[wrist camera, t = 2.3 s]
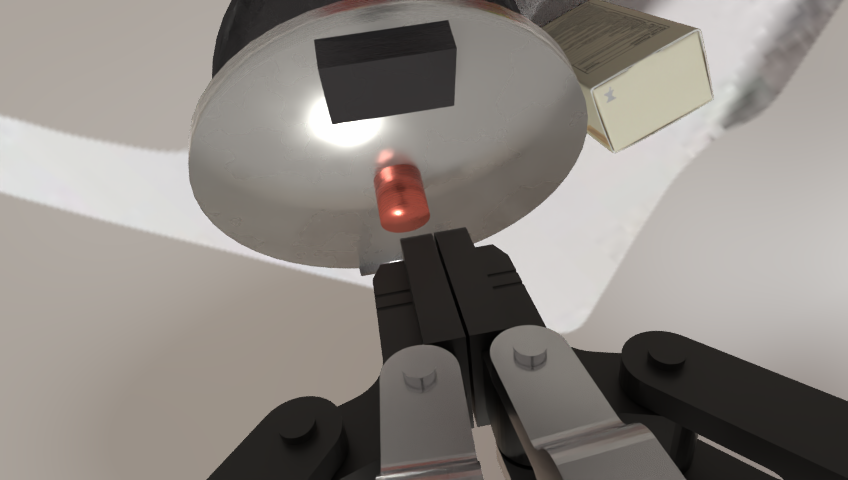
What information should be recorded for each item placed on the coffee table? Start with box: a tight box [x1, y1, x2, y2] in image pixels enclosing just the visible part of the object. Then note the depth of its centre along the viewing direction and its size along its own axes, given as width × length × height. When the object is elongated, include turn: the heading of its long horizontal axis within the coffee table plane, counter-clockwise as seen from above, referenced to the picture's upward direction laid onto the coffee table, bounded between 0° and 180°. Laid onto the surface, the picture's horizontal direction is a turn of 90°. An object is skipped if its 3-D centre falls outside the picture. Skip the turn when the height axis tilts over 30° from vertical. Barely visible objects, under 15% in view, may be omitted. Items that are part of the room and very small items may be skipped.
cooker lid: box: [189, 0, 588, 276], centre depth 23 cm, size 17×16×3 cm
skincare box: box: [542, 0, 714, 153], centre depth 34 cm, size 6×4×12 cm
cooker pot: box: [212, 0, 521, 79], centre depth 32 cm, size 15×15×12 cm
